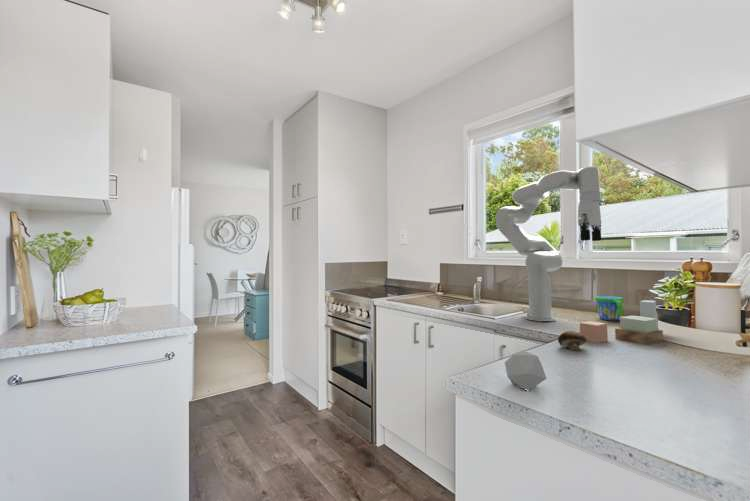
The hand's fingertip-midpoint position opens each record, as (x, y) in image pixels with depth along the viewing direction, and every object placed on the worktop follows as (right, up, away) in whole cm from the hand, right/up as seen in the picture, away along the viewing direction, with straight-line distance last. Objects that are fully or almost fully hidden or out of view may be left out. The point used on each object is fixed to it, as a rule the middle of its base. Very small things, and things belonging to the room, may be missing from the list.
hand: (591, 240), depth 140 cm
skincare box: (+16, -35, -9) cm, 40 cm away
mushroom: (-24, -36, -29) cm, 52 cm away
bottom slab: (+5, -36, -19) cm, 41 cm away
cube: (-10, -36, -18) cm, 41 cm away
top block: (+5, -32, -19) cm, 37 cm away
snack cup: (+20, -36, +19) cm, 45 cm away
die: (-52, -36, -60) cm, 87 cm away
